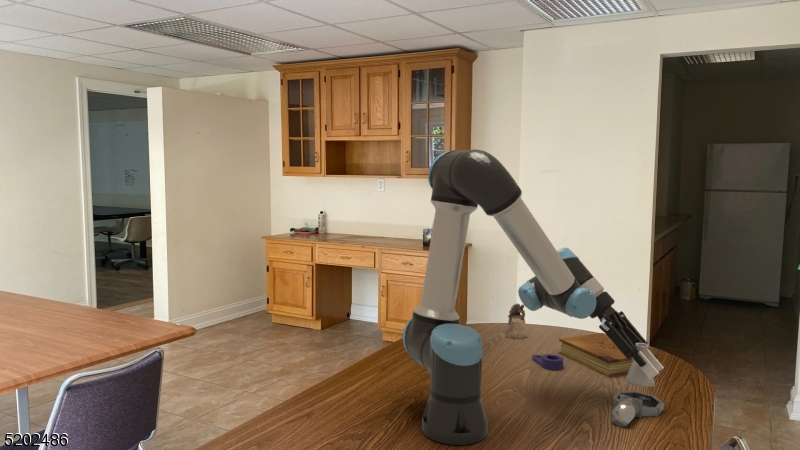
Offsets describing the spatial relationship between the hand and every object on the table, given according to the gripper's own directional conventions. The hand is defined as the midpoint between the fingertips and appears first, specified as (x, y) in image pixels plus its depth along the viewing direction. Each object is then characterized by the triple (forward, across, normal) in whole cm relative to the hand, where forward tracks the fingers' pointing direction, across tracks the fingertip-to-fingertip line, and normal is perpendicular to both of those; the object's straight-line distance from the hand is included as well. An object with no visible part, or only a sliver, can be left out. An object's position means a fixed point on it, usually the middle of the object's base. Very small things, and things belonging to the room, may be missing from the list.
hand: (656, 373), depth 144 cm
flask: (0, 0, -5) cm, 5 cm away
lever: (-18, -15, -32) cm, 40 cm away
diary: (-8, -30, -23) cm, 38 cm away
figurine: (-33, -36, -47) cm, 67 cm away
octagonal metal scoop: (+4, +5, -10) cm, 11 cm away
